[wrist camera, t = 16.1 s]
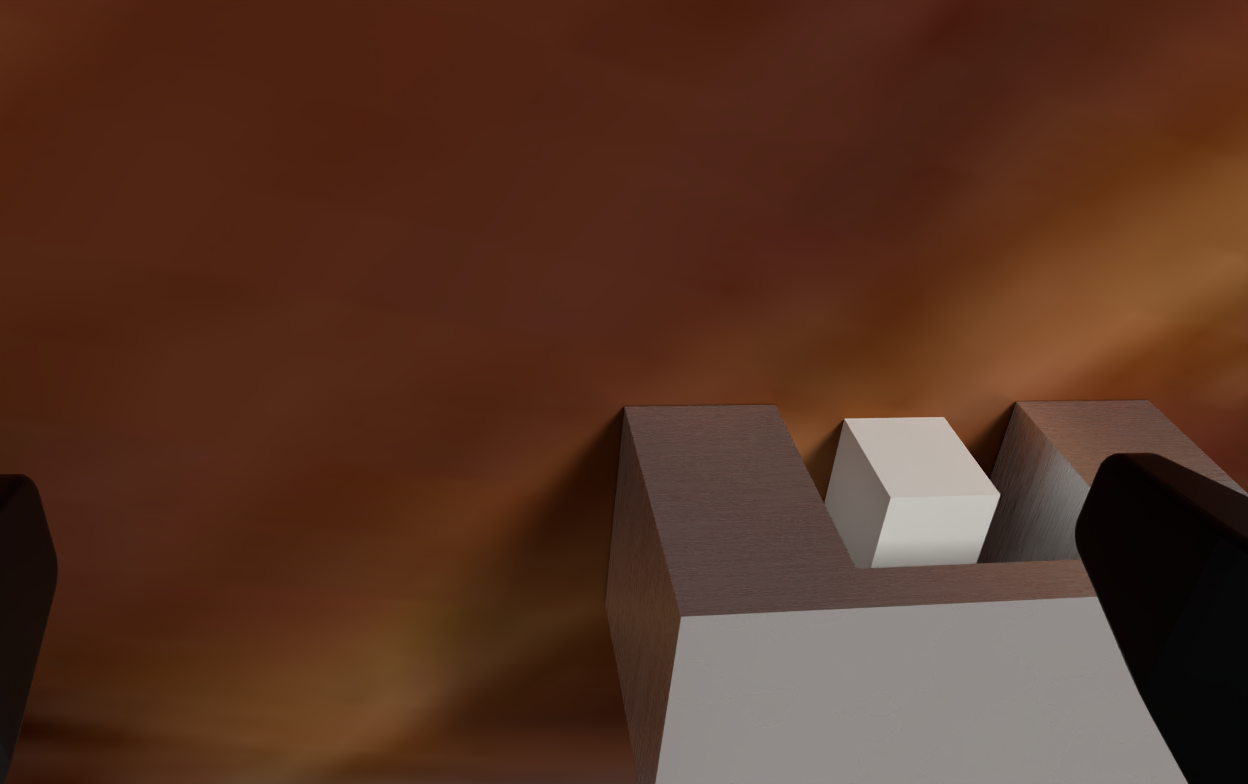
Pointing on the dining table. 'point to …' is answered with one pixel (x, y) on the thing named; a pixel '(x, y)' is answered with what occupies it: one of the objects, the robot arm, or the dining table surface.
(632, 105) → the dining table surface
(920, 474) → the cable plug
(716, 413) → the block
